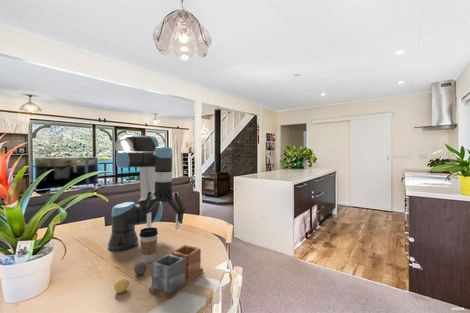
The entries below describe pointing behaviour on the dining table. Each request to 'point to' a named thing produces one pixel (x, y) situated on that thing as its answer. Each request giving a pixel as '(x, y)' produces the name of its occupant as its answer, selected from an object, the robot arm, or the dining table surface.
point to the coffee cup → (148, 243)
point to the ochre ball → (121, 284)
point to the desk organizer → (175, 271)
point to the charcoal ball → (140, 268)
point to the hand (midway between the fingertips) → (163, 227)
